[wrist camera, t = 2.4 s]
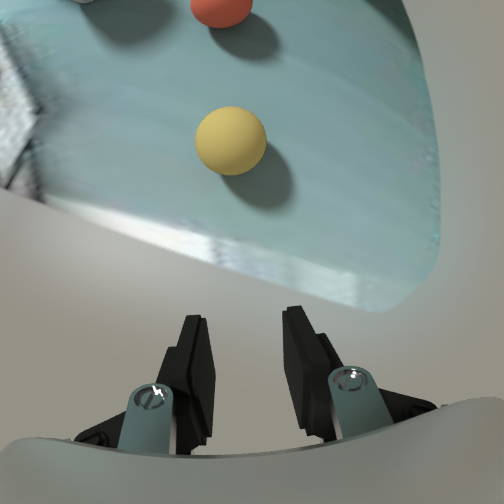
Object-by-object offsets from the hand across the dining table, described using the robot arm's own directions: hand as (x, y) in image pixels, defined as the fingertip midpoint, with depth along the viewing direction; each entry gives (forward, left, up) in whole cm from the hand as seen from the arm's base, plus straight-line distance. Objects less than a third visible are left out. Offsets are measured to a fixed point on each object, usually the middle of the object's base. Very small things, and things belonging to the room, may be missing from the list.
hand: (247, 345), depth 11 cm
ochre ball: (+3, +9, -13) cm, 16 cm away
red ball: (+6, +23, -12) cm, 27 cm away
